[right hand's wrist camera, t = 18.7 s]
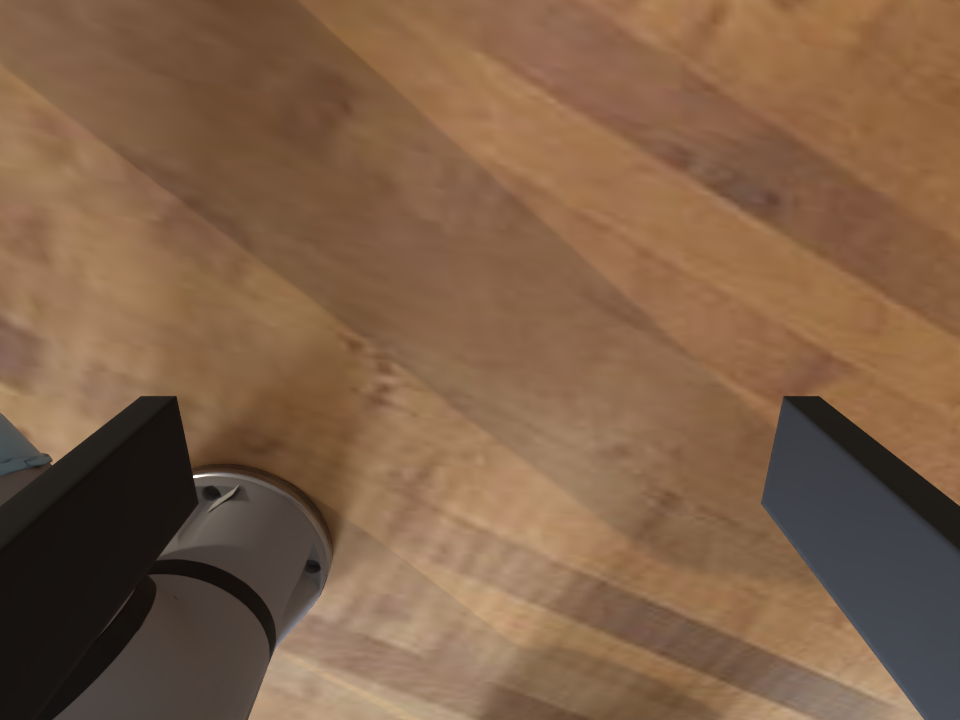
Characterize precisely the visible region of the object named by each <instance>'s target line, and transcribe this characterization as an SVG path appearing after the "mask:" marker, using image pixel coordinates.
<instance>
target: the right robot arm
mask: <svg viewBox="0 0 960 720" xmlns="http://www.w3.org/2000/svg"><path fill="white" fill-rule="evenodd" d="M52 461H53V460H52V458H51V457H50V456H49V455H48V454H44V453H40V452H39V451H38V450H37V449H36V448H35V447H34V446H33V445H32V444H31V443H30V442H29V441H28V440H27V439H26V438H25V437H24V436H23V435H22V434H21V433H20V432H19V431H18V430H17V429H16V428H15V427H14V426H13V425H12V423H11V422H10V421H9V420H8V419H7V418H6V417H5V416H4V415H2V414H1V413H0V720H248V718H249V716H250V713H251V710H252V708H253V705H254V702H255V700H256V697H257V694H258V692H259V689H260V686H261V684H262V681H263V678H264V676H265V673H266V670H267V667H268V665H269V662H270V660H271V657H272V655H273V652H274V650H275V649H276V647H277V646H278V645H279V644H280V643H281V642H282V641H283V639H284V638H285V637H286V636H287V635H288V634H289V633H290V631H291V630H292V629H293V628H294V627H295V626H296V625H297V623H298V622H299V621H300V620H301V619H302V618H303V617H304V616H305V614H306V613H307V612H308V611H309V610H310V609H311V608H312V606H313V605H314V603H315V602H316V601H317V599H318V598H319V596H320V595H321V592H322V590H323V588H324V585H325V583H326V580H327V577H328V574H329V571H330V568H331V563H332V542H331V537H330V534H329V530H328V528H327V525H326V523H325V521H324V519H323V518H322V516H321V514H320V513H319V511H318V510H317V508H316V507H315V506H314V505H313V504H312V502H311V501H310V500H309V499H308V498H307V497H306V496H305V495H304V494H302V493H301V492H300V491H299V490H298V489H296V488H295V487H293V486H292V485H291V484H289V483H287V482H286V481H284V480H282V479H281V478H278V477H276V476H274V475H272V474H270V473H267V472H264V471H262V470H258V469H255V468H251V467H246V466H241V465H232V464H213V465H206V466H200V467H196V468H193V469H192V468H191V463H190V459H189V454H188V449H187V444H186V440H185V435H184V430H183V425H182V420H181V416H180V411H179V406H178V401H177V397H176V396H141V397H139V398H138V399H137V400H136V401H134V402H133V403H132V404H131V405H129V406H128V407H127V408H125V409H124V410H123V411H122V412H120V413H119V414H118V415H116V416H115V417H114V418H113V419H111V420H110V421H109V422H107V423H106V424H105V425H104V426H102V427H101V428H100V429H99V430H97V431H96V432H95V433H93V434H92V435H91V436H90V437H88V438H87V439H86V440H84V441H83V442H82V443H81V444H79V445H78V446H77V447H75V448H74V449H73V450H72V451H70V452H69V453H68V454H67V455H65V456H64V457H63V458H61V459H60V460H59V461H58V462H56V463H55V464H54V465H51V464H50V463H49V462H52ZM761 504H762V505H763V507H764V508H765V509H766V511H767V512H768V513H769V515H770V516H771V517H772V519H773V520H774V521H775V523H776V524H777V525H778V527H779V528H780V529H781V531H782V532H783V533H784V535H785V536H786V537H787V539H788V540H789V541H790V542H791V544H792V545H793V546H794V548H795V549H796V550H797V552H798V553H799V554H800V556H801V557H802V558H803V560H804V561H805V562H806V564H807V565H808V566H809V568H810V569H811V570H812V572H813V573H814V574H815V576H816V577H817V578H818V580H819V581H820V582H821V584H822V585H823V586H824V588H825V589H826V590H827V591H828V593H829V594H830V595H831V597H832V598H833V599H834V601H835V602H836V603H837V605H838V606H839V607H840V609H841V610H842V611H843V613H844V614H845V615H846V617H847V618H848V619H849V621H850V622H851V623H852V625H853V626H854V627H855V629H856V630H857V631H858V633H859V634H860V635H861V636H862V638H863V639H864V640H865V642H866V643H867V644H868V646H869V647H870V648H871V650H872V651H873V652H874V654H875V655H876V656H877V658H878V659H879V660H880V662H881V663H882V664H883V666H884V667H885V668H886V670H887V671H888V672H889V674H890V675H891V676H892V678H893V679H894V680H895V681H896V683H897V684H898V685H899V687H900V688H901V689H902V691H903V692H904V693H905V695H906V696H907V697H908V699H909V700H910V701H911V703H912V704H913V705H914V707H915V708H916V709H917V711H918V712H919V713H920V715H921V716H922V717H923V719H924V720H960V506H959V505H957V504H956V503H955V502H954V501H952V500H951V499H950V498H949V497H947V496H946V495H945V494H943V493H942V492H941V491H940V490H938V489H937V488H936V487H934V486H933V485H932V484H931V483H929V482H928V481H927V480H925V479H924V478H923V477H922V476H920V475H919V474H918V473H917V472H915V471H914V470H913V469H911V468H910V467H909V466H908V465H906V464H905V463H904V462H902V461H901V460H900V459H899V458H897V457H896V456H895V455H893V454H892V453H891V452H890V451H888V450H887V449H886V448H885V447H883V446H882V445H881V444H879V443H878V442H877V441H876V440H874V439H873V438H872V437H870V436H869V435H868V434H867V433H865V432H864V431H863V430H861V429H860V428H859V427H858V426H856V425H855V424H854V423H853V422H851V421H850V420H849V419H847V418H846V417H845V416H844V415H842V414H841V413H840V412H838V411H837V410H836V409H835V408H833V407H832V406H831V405H829V404H828V403H827V402H826V401H824V400H823V399H822V398H821V397H819V396H784V397H783V401H782V406H781V411H780V416H779V420H778V425H777V430H776V435H775V440H774V444H773V449H772V454H771V459H770V463H769V468H768V473H767V478H766V482H765V487H764V492H763V497H762V502H761Z"/></svg>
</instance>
